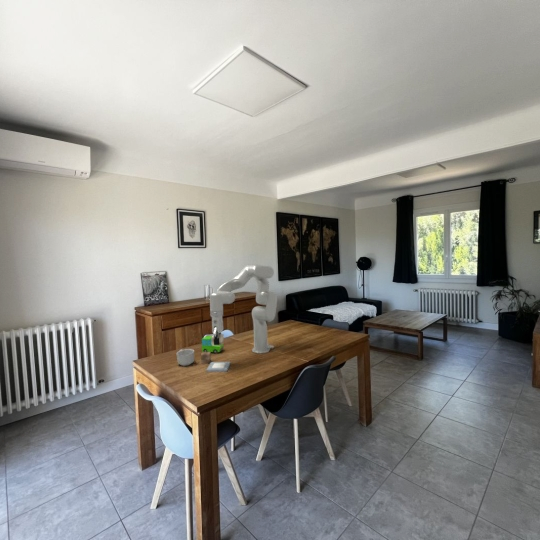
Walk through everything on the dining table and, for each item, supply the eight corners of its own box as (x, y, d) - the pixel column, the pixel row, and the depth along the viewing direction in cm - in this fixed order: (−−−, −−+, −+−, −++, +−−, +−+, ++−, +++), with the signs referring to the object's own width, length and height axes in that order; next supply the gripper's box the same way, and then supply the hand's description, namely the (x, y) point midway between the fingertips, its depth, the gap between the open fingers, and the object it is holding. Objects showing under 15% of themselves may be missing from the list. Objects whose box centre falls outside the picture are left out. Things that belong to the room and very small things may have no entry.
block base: (223, 342, 172) (223, 334, 172) (221, 345, 166) (221, 337, 166) (214, 342, 173) (213, 334, 172) (211, 345, 167) (211, 337, 166)
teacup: (196, 365, 175) (196, 352, 175) (178, 368, 170) (178, 355, 169) (191, 358, 187) (190, 346, 187) (174, 361, 182) (173, 349, 181)
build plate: (230, 363, 176) (230, 361, 176) (226, 371, 164) (226, 369, 164) (211, 364, 176) (211, 361, 176) (206, 371, 164) (206, 369, 164)
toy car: (219, 354, 194) (218, 340, 193) (201, 353, 197) (201, 339, 196) (224, 349, 204) (224, 336, 203) (207, 348, 207) (207, 335, 206)
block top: (210, 361, 182) (210, 351, 181) (209, 363, 177) (208, 354, 176) (203, 361, 182) (202, 351, 181) (201, 364, 177) (200, 354, 176)
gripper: (220, 316, 160) (221, 347, 161) (225, 310, 177) (226, 338, 178) (207, 316, 160) (208, 347, 161) (213, 310, 177) (214, 338, 178)
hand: (217, 342), depth 169 cm, fingers closed on block base, 6 cm apart
